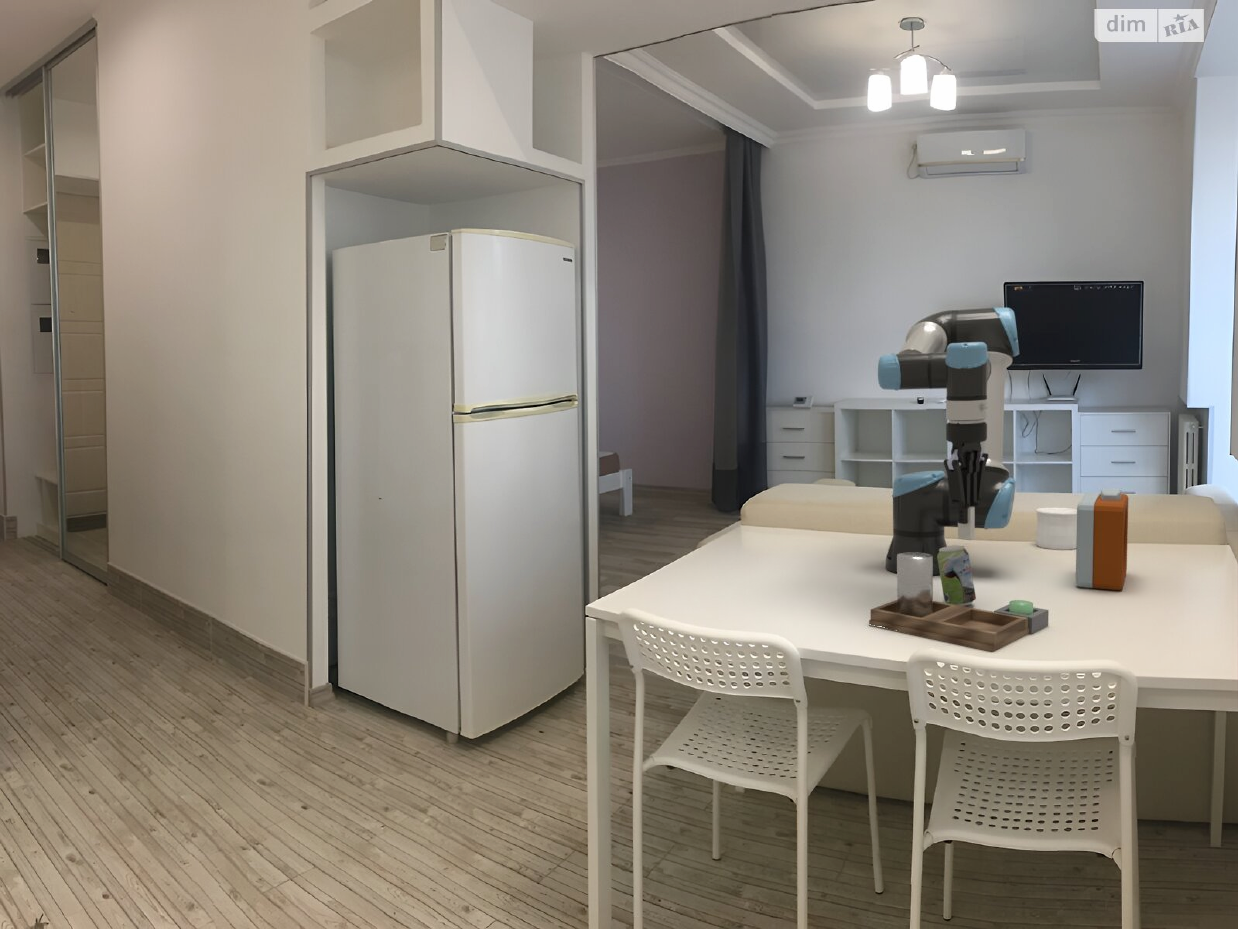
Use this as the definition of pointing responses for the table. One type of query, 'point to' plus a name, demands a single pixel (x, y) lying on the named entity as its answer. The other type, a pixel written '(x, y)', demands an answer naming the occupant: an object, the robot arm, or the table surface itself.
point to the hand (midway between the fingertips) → (966, 538)
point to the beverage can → (956, 575)
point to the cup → (1056, 528)
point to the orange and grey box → (1102, 540)
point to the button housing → (1030, 618)
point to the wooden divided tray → (955, 625)
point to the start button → (1021, 607)
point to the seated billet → (915, 584)
